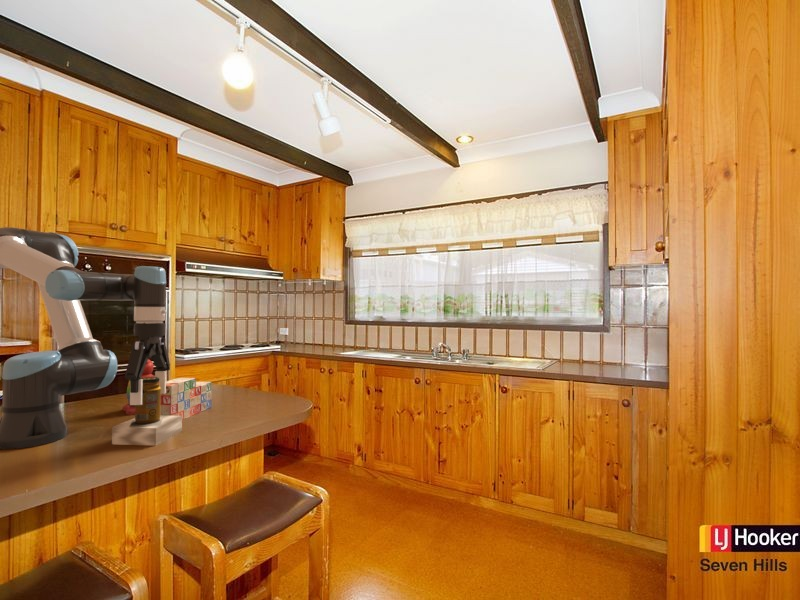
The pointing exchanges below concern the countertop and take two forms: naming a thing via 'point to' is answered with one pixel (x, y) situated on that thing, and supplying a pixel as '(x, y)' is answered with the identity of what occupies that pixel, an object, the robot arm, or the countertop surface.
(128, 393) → the stacking bear
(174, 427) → the birch block
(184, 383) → the stack of blocks
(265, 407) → the countertop surface
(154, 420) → the condiment
